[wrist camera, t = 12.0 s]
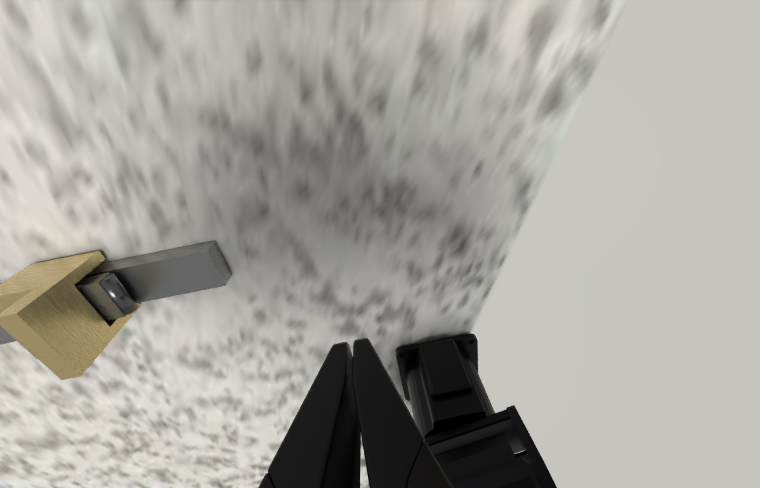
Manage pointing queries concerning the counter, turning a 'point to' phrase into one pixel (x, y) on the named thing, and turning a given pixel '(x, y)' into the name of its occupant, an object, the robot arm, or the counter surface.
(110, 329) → the collar
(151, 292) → the tong base
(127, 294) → the upper tong arm
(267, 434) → the counter surface
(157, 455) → the counter surface
